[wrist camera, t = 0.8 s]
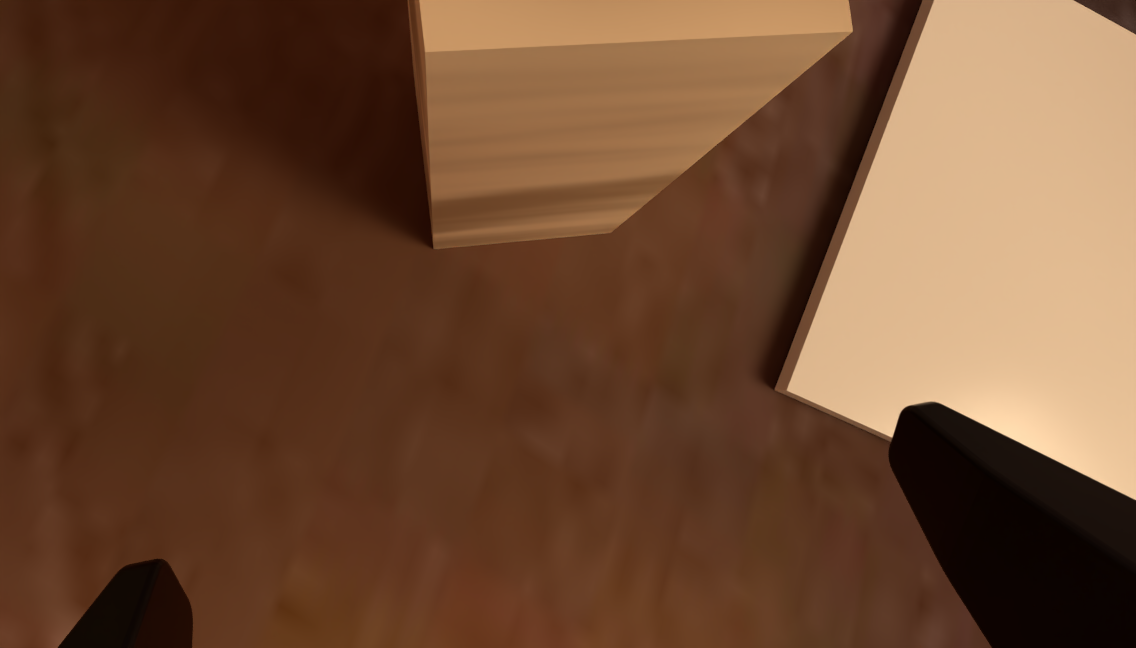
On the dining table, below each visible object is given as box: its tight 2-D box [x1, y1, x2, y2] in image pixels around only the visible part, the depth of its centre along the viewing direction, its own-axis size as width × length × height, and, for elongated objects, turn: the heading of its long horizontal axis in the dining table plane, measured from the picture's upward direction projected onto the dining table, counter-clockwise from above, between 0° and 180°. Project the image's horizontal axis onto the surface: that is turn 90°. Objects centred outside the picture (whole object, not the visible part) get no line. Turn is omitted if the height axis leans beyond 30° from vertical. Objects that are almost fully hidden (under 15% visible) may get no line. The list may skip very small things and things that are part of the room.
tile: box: [775, 0, 1136, 500], centre depth 24 cm, size 15×15×1 cm
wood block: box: [408, 0, 853, 249], centre depth 15 cm, size 5×5×13 cm
